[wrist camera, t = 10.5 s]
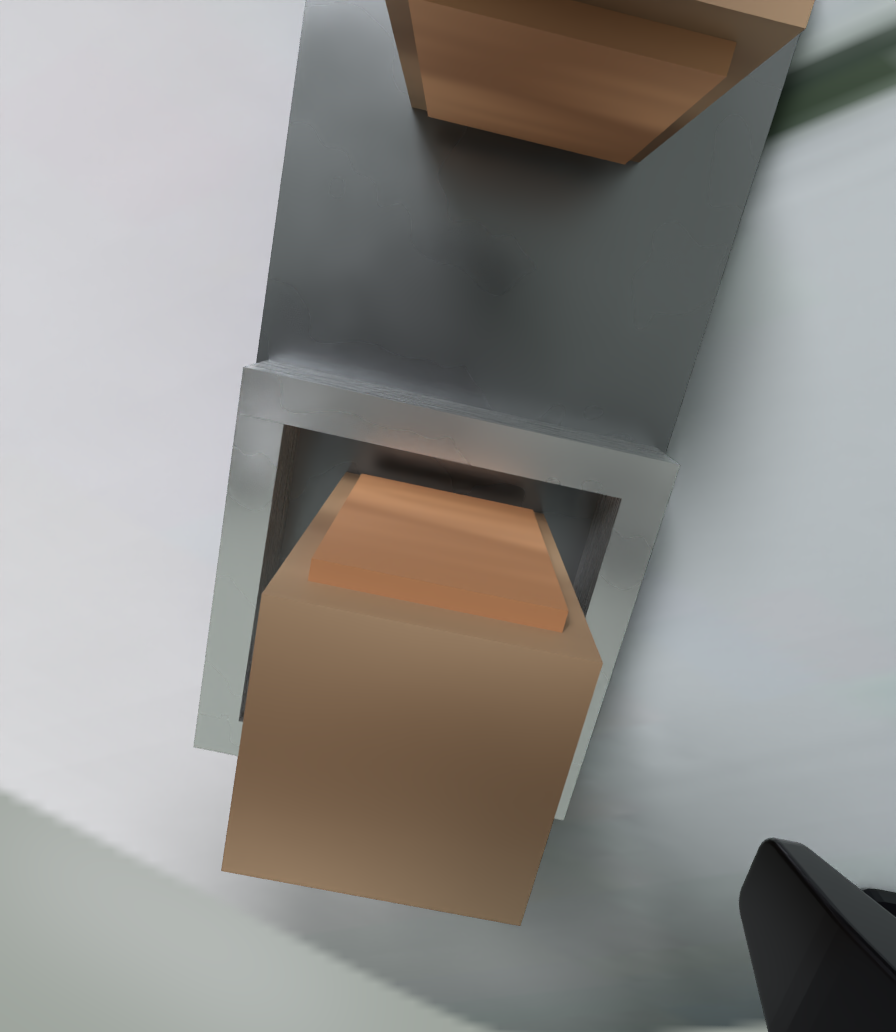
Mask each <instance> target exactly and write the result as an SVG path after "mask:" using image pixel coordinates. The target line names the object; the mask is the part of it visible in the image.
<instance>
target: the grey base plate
mask: <svg viewBox="0 0 896 1032" xmlns="http://www.w3.org/2000/svg"><path fill="white" fill-rule="evenodd" d="M799 35H800V33H799V34H798V35H797V36H796V37H795V38H793V39H792V40H791V41H790V42H788V43H787V44H786V45H785V46H783V47H782V48H781V49H780V50H778V51H777V52H776V53H775V54H773V55H772V56H771V57H770V58H768V59H767V60H766V61H765V62H763V63H762V64H761V65H760V66H758V67H757V68H756V69H755V70H753V71H752V72H751V73H750V74H749V75H747V76H746V77H745V78H744V79H742V80H741V81H740V82H739V83H737V84H736V85H735V86H734V87H732V88H731V89H730V90H729V91H727V92H726V93H725V94H724V95H722V96H721V97H720V98H719V99H717V100H716V101H715V102H714V103H712V104H711V105H710V106H709V107H707V108H706V109H705V110H704V111H703V112H701V113H700V114H699V115H698V116H696V117H695V118H694V119H693V120H691V121H690V122H689V123H688V124H686V125H685V126H684V127H683V128H681V129H680V130H679V131H678V132H676V133H675V134H674V135H673V136H671V137H670V138H669V139H668V140H666V141H665V142H664V143H663V144H661V145H660V146H659V147H658V148H657V149H655V150H654V151H653V152H652V153H650V154H649V155H648V156H647V157H645V158H644V159H643V160H642V161H640V162H639V163H638V162H634V161H630V160H629V161H628V162H627V163H626V164H625V165H624V164H620V163H616V162H612V161H608V160H604V159H600V158H596V157H592V156H587V155H583V154H579V153H575V152H571V151H567V150H563V149H559V148H555V147H551V146H546V145H542V144H538V143H534V142H530V141H526V140H522V139H518V138H514V137H510V136H506V135H501V134H497V133H493V132H489V131H485V130H481V129H477V128H473V127H469V126H465V125H461V124H456V123H452V122H448V121H444V120H440V119H436V118H432V117H428V112H427V111H426V110H422V109H418V108H414V107H411V103H410V99H409V95H408V91H407V87H406V83H405V79H404V75H403V71H402V67H401V63H400V59H399V55H398V51H397V47H396V43H395V38H394V34H393V30H392V26H391V22H390V18H389V14H388V10H387V6H386V2H385V0H306V2H305V9H304V17H303V24H302V31H301V39H300V46H299V53H298V61H297V68H296V75H295V83H294V90H293V97H292V105H291V112H290V119H289V127H288V134H287V141H286V149H285V156H284V163H283V171H282V178H281V185H280V193H279V200H278V207H277V215H276V222H275V229H274V237H273V244H272V251H271V259H270V266H269V273H268V281H267V288H266V295H265V303H264V310H263V317H262V325H261V332H260V339H259V347H258V354H257V361H256V364H252V365H249V366H245V367H243V374H242V382H241V389H240V397H239V404H238V412H237V420H236V427H235V435H234V443H233V450H232V458H231V465H230V473H229V481H228V488H227V496H226V504H225V511H224V519H223V526H222V534H221V542H220V549H219V557H218V565H217V572H216V580H215V587H214V595H213V603H212V610H211V618H210V625H209V633H208V641H207V648H206V656H205V664H204V671H203V679H202V686H201V694H200V702H199V709H198V717H197V725H196V732H195V740H194V747H195V748H200V749H205V750H210V751H215V752H220V753H225V754H230V755H235V756H238V753H239V746H240V739H241V732H242V725H243V719H244V712H245V705H246V698H247V691H248V684H249V678H250V671H251V664H252V657H253V650H254V643H255V636H256V630H257V623H258V616H259V609H260V602H261V595H262V593H263V591H264V590H265V588H266V587H267V585H268V584H269V583H270V581H271V580H272V578H273V577H274V575H275V574H276V572H277V571H278V570H279V568H280V567H281V565H282V564H283V562H284V561H285V559H286V558H287V557H288V555H289V554H290V552H291V551H292V549H293V548H294V546H295V545H296V544H297V542H298V541H299V539H300V538H301V536H302V535H303V533H304V532H305V531H306V529H307V528H308V526H309V525H310V523H311V522H312V520H313V519H314V518H315V516H316V515H317V513H318V512H319V510H320V509H321V507H322V506H323V505H324V503H325V502H326V500H327V499H328V497H329V496H330V494H331V493H332V491H333V490H334V489H335V487H336V486H337V484H338V483H339V481H340V480H341V478H342V477H343V476H344V474H345V473H346V472H349V473H354V474H358V475H361V474H367V475H371V476H376V477H381V478H385V479H390V480H395V481H400V482H404V483H409V484H414V485H419V486H423V487H428V488H433V489H437V490H442V491H447V492H452V493H456V494H461V495H466V496H470V497H475V498H480V499H485V500H489V501H494V502H499V503H503V504H508V505H513V506H518V507H522V508H527V509H532V510H533V512H538V513H542V514H544V516H545V518H546V521H547V523H548V526H549V528H550V531H551V534H552V536H553V539H554V541H555V544H556V546H557V549H558V551H559V554H560V556H561V559H562V561H563V564H564V566H565V569H566V571H567V574H568V576H569V579H570V581H571V584H572V586H573V589H574V591H575V594H576V596H577V599H578V601H579V604H580V606H581V609H582V611H583V614H584V616H585V619H586V621H587V624H588V626H589V629H590V632H591V634H592V637H593V639H594V642H595V644H596V647H597V649H598V652H599V654H600V657H601V659H602V662H603V665H602V668H601V671H600V674H599V678H598V681H597V684H596V687H595V690H594V693H593V697H592V700H591V703H590V706H589V709H588V712H587V716H586V719H585V722H584V725H583V728H582V732H581V735H580V738H579V741H578V744H577V747H576V751H575V754H574V757H573V760H572V763H571V766H570V770H569V773H568V776H567V779H566V782H565V786H564V789H563V792H562V795H561V798H560V801H559V805H558V808H557V811H556V814H555V817H554V819H559V820H564V818H565V815H566V812H567V808H568V805H569V802H570V799H571V796H572V793H573V790H574V787H575V784H576V781H577V778H578V775H579V772H580V769H581V766H582V763H583V760H584V757H585V754H586V751H587V748H588V745H589V741H590V738H591V735H592V732H593V729H594V726H595V723H596V720H597V717H598V714H599V711H600V708H601V705H602V702H603V699H604V696H605V693H606V690H607V687H608V684H609V681H610V678H611V675H612V671H613V668H614V665H615V662H616V659H617V656H618V653H619V650H620V647H621V644H622V641H623V638H624V635H625V632H626V629H627V626H628V623H629V620H630V617H631V614H632V611H633V608H634V604H635V601H636V598H637V595H638V592H639V589H640V586H641V583H642V580H643V577H644V574H645V571H646V568H647V565H648V562H649V559H650V556H651V553H652V550H653V547H654V544H655V541H656V537H657V534H658V531H659V528H660V525H661V522H662V519H663V516H664V513H665V510H666V507H667V504H668V501H669V498H670V495H671V492H672V489H673V486H674V483H675V480H676V477H677V474H678V471H679V467H680V464H678V463H677V462H676V461H674V460H673V459H671V458H670V457H669V456H667V455H666V450H667V447H668V444H669V441H670V438H671V435H672V432H673V429H674V425H675V422H676V419H677V416H678V413H679V410H680V407H681V404H682V401H683V397H684V394H685V391H686V388H687V385H688V382H689V379H690V376H691V372H692V369H693V366H694V363H695V360H696V357H697V354H698V351H699V347H700V344H701V341H702V338H703V335H704V332H705V329H706V326H707V322H708V319H709V316H710V313H711V310H712V307H713V304H714V301H715V297H716V294H717V291H718V288H719V285H720V282H721V279H722V276H723V273H724V269H725V266H726V263H727V260H728V257H729V254H730V251H731V248H732V244H733V241H734V238H735V235H736V232H737V229H738V226H739V223H740V219H741V216H742V213H743V210H744V207H745V204H746V201H747V198H748V194H749V191H750V188H751V185H752V182H753V179H754V176H755V173H756V170H757V166H758V163H759V160H760V157H761V154H762V151H763V148H764V145H765V141H766V138H767V135H768V132H769V129H770V126H771V123H772V120H773V116H774V113H775V110H776V107H777V104H778V101H779V98H780V95H781V91H782V88H783V85H784V82H785V79H786V76H787V73H788V70H789V66H790V63H791V60H792V57H793V54H794V51H795V48H796V45H797V42H798V38H799Z"/></svg>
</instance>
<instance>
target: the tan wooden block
mask: <svg viewBox="0 0 896 1032" xmlns="http://www.w3.org/2000/svg"><path fill="white" fill-rule="evenodd" d="M602 665H603V662H602V659H601V657H600V654H599V652H598V649H597V647H596V644H595V642H594V639H593V637H592V634H591V632H590V629H589V626H588V624H587V621H586V619H585V616H584V614H583V611H582V609H581V606H580V604H579V601H578V599H577V596H576V594H575V591H574V589H573V586H572V584H571V581H570V579H569V576H568V574H567V571H566V569H565V566H564V564H563V561H562V559H561V556H560V554H559V551H558V549H557V546H556V544H555V541H554V539H553V536H552V534H551V531H550V528H549V526H548V523H547V521H546V518H545V516H544V514H542V513H538V512H533V510H532V509H527V508H522V507H518V506H513V505H508V504H503V503H499V502H494V501H489V500H485V499H480V498H475V497H470V496H466V495H461V494H456V493H452V492H447V491H442V490H437V489H433V488H428V487H423V486H419V485H414V484H409V483H404V482H400V481H395V480H390V479H385V478H381V477H376V476H371V475H367V474H361V475H358V474H354V473H349V472H346V473H345V474H344V476H343V477H342V478H341V480H340V481H339V483H338V484H337V486H336V487H335V489H334V490H333V491H332V493H331V494H330V496H329V497H328V499H327V500H326V502H325V503H324V505H323V506H322V507H321V509H320V510H319V512H318V513H317V515H316V516H315V518H314V519H313V520H312V522H311V523H310V525H309V526H308V528H307V529H306V531H305V532H304V533H303V535H302V536H301V538H300V539H299V541H298V542H297V544H296V545H295V546H294V548H293V549H292V551H291V552H290V554H289V555H288V557H287V558H286V559H285V561H284V562H283V564H282V565H281V567H280V568H279V570H278V571H277V572H276V574H275V575H274V577H273V578H272V580H271V581H270V583H269V584H268V585H267V587H266V588H265V590H264V591H263V593H262V595H261V602H260V609H259V616H258V623H257V630H256V636H255V643H254V650H253V657H252V664H251V671H250V678H249V684H248V691H247V698H246V705H245V712H244V719H243V725H242V732H241V739H240V746H239V753H238V760H237V767H236V773H235V780H234V787H233V794H232V801H231V808H230V815H229V821H228V828H227V835H226V842H225V849H224V856H223V862H222V869H221V871H224V872H230V873H235V874H241V875H246V876H252V877H257V878H262V879H268V880H273V881H279V882H284V883H290V884H295V885H300V886H306V887H311V888H317V889H322V890H328V891H333V892H338V893H344V894H349V895H355V896H360V897H366V898H371V899H376V900H382V901H387V902H393V903H398V904H404V905H409V906H414V907H420V908H425V909H431V910H436V911H442V912H447V913H452V914H458V915H463V916H469V917H474V918H480V919H485V920H490V921H496V922H501V923H507V924H512V925H518V926H520V925H521V922H522V919H523V916H524V913H525V909H526V906H527V903H528V900H529V897H530V894H531V890H532V887H533V884H534V881H535V878H536V875H537V871H538V868H539V865H540V862H541V859H542V855H543V852H544V849H545V846H546V843H547V840H548V836H549V833H550V830H551V827H552V824H553V820H554V817H555V814H556V811H557V808H558V805H559V801H560V798H561V795H562V792H563V789H564V786H565V782H566V779H567V776H568V773H569V770H570V766H571V763H572V760H573V757H574V754H575V751H576V747H577V744H578V741H579V738H580V735H581V732H582V728H583V725H584V722H585V719H586V716H587V712H588V709H589V706H590V703H591V700H592V697H593V693H594V690H595V687H596V684H597V681H598V678H599V674H600V671H601V668H602Z"/></svg>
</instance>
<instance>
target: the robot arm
mask: <svg viewBox="0 0 896 1032" xmlns="http://www.w3.org/2000/svg"><path fill="white" fill-rule="evenodd" d="M739 908H740V915H741V919H742V924H743V928H744V932H745V936H746V940H747V945H748V949H749V953H750V957H751V961H752V966H753V970H754V974H755V978H756V983H757V987H758V991H759V995H760V999H761V1004H762V1008H763V1012H764V1016H765V1020H766V1025H767V1029H768V1032H896V893H893V892H888V891H883V890H878V889H866V890H863V891H862V890H861V889H859V888H858V887H857V886H856V885H854V884H853V883H852V882H851V881H849V880H848V879H847V878H846V877H844V876H843V875H842V874H840V873H839V872H838V871H837V870H835V869H834V868H833V867H832V866H830V865H829V864H828V863H827V862H825V861H824V860H823V859H822V858H820V857H819V856H818V855H817V854H815V853H814V852H813V851H812V850H810V849H809V848H808V847H806V846H805V845H803V844H801V843H798V842H793V841H788V840H782V839H777V838H768V839H766V840H764V841H763V842H762V843H761V845H760V847H759V849H758V851H757V854H756V856H755V858H754V860H753V863H752V865H751V867H750V870H749V872H748V874H747V876H746V879H745V881H744V883H743V886H742V888H741V892H740V897H739Z"/></svg>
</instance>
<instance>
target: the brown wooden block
mask: <svg viewBox="0 0 896 1032" xmlns="http://www.w3.org/2000/svg"><path fill="white" fill-rule="evenodd" d="M814 1H815V0H385V2H386V6H387V10H388V14H389V18H390V22H391V26H392V30H393V34H394V38H395V43H396V47H397V51H398V55H399V59H400V63H401V67H402V71H403V75H404V79H405V83H406V87H407V91H408V95H409V99H410V103H411V107H414V108H418V109H422V110H426V111H427V112H428V117H432V118H436V119H440V120H444V121H448V122H452V123H456V124H461V125H465V126H469V127H473V128H477V129H481V130H485V131H489V132H493V133H497V134H501V135H506V136H510V137H514V138H518V139H522V140H526V141H530V142H534V143H538V144H542V145H546V146H551V147H555V148H559V149H563V150H567V151H571V152H575V153H579V154H583V155H587V156H592V157H596V158H600V159H604V160H608V161H612V162H616V163H620V164H624V165H625V164H626V163H627V162H628V161H629V160H630V161H634V162H638V163H639V162H640V161H642V160H643V159H644V158H645V157H647V156H648V155H649V154H650V153H652V152H653V151H654V150H655V149H657V148H658V147H659V146H660V145H661V144H663V143H664V142H665V141H666V140H668V139H669V138H670V137H671V136H673V135H674V134H675V133H676V132H678V131H679V130H680V129H681V128H683V127H684V126H685V125H686V124H688V123H689V122H690V121H691V120H693V119H694V118H695V117H696V116H698V115H699V114H700V113H701V112H703V111H704V110H705V109H706V108H707V107H709V106H710V105H711V104H712V103H714V102H715V101H716V100H717V99H719V98H720V97H721V96H722V95H724V94H725V93H726V92H727V91H729V90H730V89H731V88H732V87H734V86H735V85H736V84H737V83H739V82H740V81H741V80H742V79H744V78H745V77H746V76H747V75H749V74H750V73H751V72H752V71H753V70H755V69H756V68H757V67H758V66H760V65H761V64H762V63H763V62H765V61H766V60H767V59H768V58H770V57H771V56H772V55H773V54H775V53H776V52H777V51H778V50H780V49H781V48H782V47H783V46H785V45H786V44H787V43H788V42H790V41H791V40H792V39H793V38H795V37H796V36H797V35H798V34H799V33H801V32H802V31H803V30H804V29H806V26H807V23H808V20H809V17H810V13H811V10H812V7H813V4H814Z"/></svg>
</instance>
